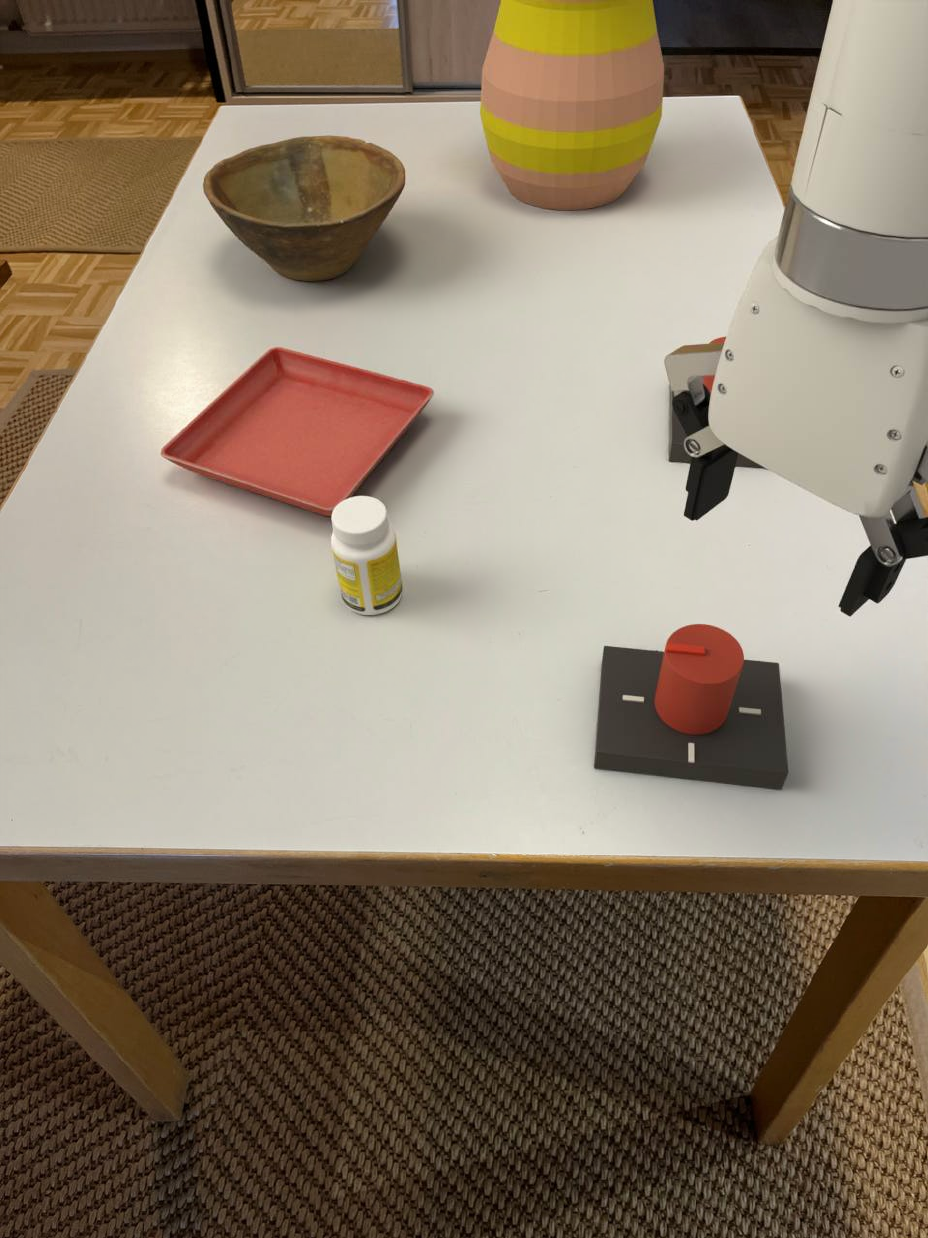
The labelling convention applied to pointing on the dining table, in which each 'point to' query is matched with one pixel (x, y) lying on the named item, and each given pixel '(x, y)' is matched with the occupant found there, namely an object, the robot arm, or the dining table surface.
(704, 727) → the near red knob
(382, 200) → the bowl
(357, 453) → the plant saucer
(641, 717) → the dark tick-marked fixture
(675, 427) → the dark square slab
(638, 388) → the dining table surface
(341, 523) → the supplement bottle
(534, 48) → the vase
